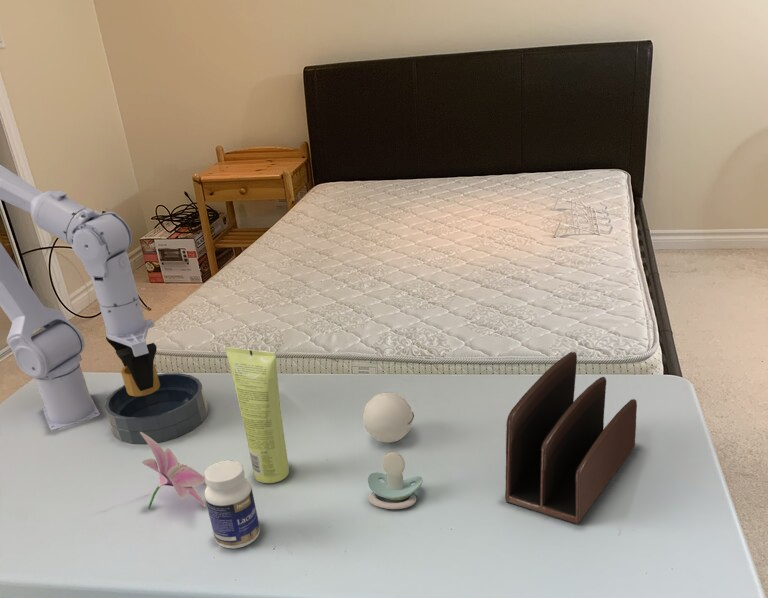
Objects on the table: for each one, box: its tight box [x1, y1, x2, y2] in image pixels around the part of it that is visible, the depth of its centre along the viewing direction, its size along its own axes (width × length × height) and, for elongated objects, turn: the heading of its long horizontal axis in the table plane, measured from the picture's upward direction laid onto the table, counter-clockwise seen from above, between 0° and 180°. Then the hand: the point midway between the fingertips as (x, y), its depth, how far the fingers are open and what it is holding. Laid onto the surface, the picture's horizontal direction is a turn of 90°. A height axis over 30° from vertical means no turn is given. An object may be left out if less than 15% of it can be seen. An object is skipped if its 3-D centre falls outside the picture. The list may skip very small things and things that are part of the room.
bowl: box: [104, 372, 209, 445], centre depth 123 cm, size 15×15×5 cm
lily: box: [140, 432, 207, 510], centre depth 102 cm, size 12×12×10 cm
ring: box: [120, 362, 160, 397], centre depth 118 cm, size 5×5×4 cm
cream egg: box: [362, 392, 415, 444], centre depth 112 cm, size 10×7×7 cm
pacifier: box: [367, 451, 424, 510], centre depth 98 cm, size 7×6×6 cm
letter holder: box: [504, 351, 638, 525], centre depth 98 cm, size 10×20×14 cm, turn 145°
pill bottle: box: [203, 460, 261, 549], centre depth 94 cm, size 6×6×10 cm
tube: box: [224, 346, 290, 484], centre depth 103 cm, size 6×5×20 cm
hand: (141, 382), depth 118 cm, fingers closed on ring, 5 cm apart
